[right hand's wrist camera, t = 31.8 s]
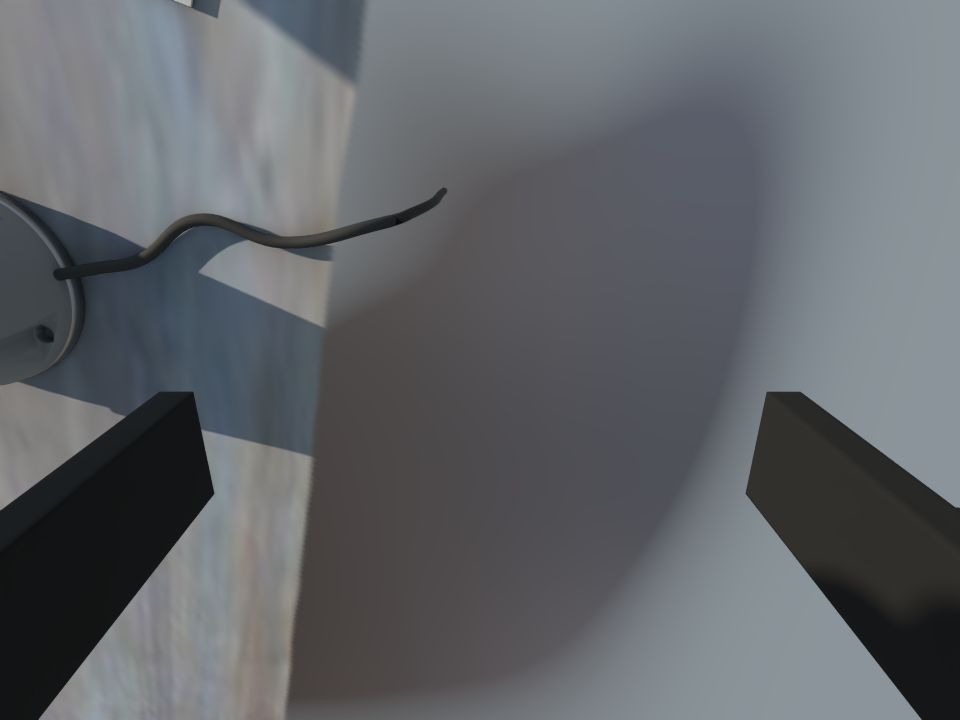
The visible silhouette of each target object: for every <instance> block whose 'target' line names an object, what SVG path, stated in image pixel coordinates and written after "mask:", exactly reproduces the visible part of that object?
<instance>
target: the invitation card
mask: <svg viewBox="0 0 960 720" xmlns="http://www.w3.org/2000/svg"><path fill="white" fill-rule="evenodd" d="M174 1H176V2H179V3H181V4H184V5H186V6H189V7H191V8H192V4H193V0H174Z"/></svg>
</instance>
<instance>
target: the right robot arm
mask: <svg viewBox="0 0 960 720" xmlns="http://www.w3.org/2000/svg"><path fill="white" fill-rule="evenodd" d="M446 193H447V189H446V188H444V187H443V188H442V189H440V190H439V191H438V192H437V193H436V194H435V195H434V196H433V197H432V198H431V199H429V200H427V201H425V202H423V203H421V204H419V205H416V206H414V207H411V208H409V209H407V210H404V211H402V212H399V213H396V214H392V215H388V216H384V217H380V218H376V219H372V220H368V221H364V222H360V223H356V224H353V225H350V226H346V227H343V228H339V229H336V230H332V231H328V232H324V233H319V234H314V235H307V236H297V237H279V236H271V235H267V234H264V233H261V232H258V231H256V230H253V229H251V228H249V227H247V226H245V225H242V224H240V223H238V222H236V221H233V220H231V219H228V218H226V217H223V216H219V215H214V214H194V215H189V216H186V217H183V218H181V219H179V220H177V221H176V222H174V223H173V224H172V225H170V226H169V227H168V228H167V229H166V230H165V231H164V232H163V233H162V234H161V235H160V237H159V238H158V239H157V240H156V241H155V242H154V243H153V244H152V245H151V246H149V247H148V248H147V249H146V250H144V251H142V252H141V253H139V254H137V255H134V256H132V257H129V258H125V259H119V260H111V261H102V262H95V263H89V264H83V265H77V266H74V265H73V263H72V261H71V259H70V257H69V255H68V254H67V252H66V250H65V249H64V247H63V246H62V244H61V243H60V242H59V240H58V239H57V238H56V236H55V235H54V234H53V233H52V232H51V231H50V229H49V228H48V227H47V226H46V225H45V224H44V223H43V222H42V221H41V220H40V219H39V218H37V217H36V216H35V215H34V214H33V213H32V212H30V211H29V210H28V209H26V208H25V207H24V206H22V205H21V204H19V203H18V202H16V201H15V200H13V199H11V198H9V197H8V196H6V195H4V194H2V193H0V385H5V384H10V383H14V382H18V381H21V380H24V379H27V378H30V377H33V376H35V375H37V374H39V373H41V372H43V371H45V370H47V369H49V368H51V367H53V366H54V365H56V364H57V363H59V362H60V361H61V360H63V359H64V358H65V357H66V356H67V355H68V354H69V352H70V351H71V350H72V348H73V347H74V346H75V344H76V342H77V340H78V338H79V335H80V332H81V329H82V325H83V319H84V299H83V292H82V287H81V284H80V280H79V277H85V276H90V275H96V274H102V273H110V272H119V271H125V270H130V269H134V268H137V267H140V266H142V265H145V264H147V263H149V262H150V261H152V260H154V259H155V258H156V257H157V256H159V255H160V254H161V253H162V252H163V251H164V250H165V249H166V248H167V247H168V246H169V245H170V244H171V243H172V242H173V241H174V240H175V239H176V238H177V237H178V236H179V235H180V234H181V233H183V232H184V231H186V230H188V229H190V228H193V227H197V226H215V227H220V228H223V229H226V230H228V231H231V232H233V233H235V234H237V235H239V236H242V237H244V238H246V239H248V240H251V241H253V242H256V243H258V244H262V245H265V246H269V247H275V248H307V247H315V246H321V245H326V244H330V243H334V242H338V241H342V240H345V239H349V238H352V237H356V236H359V235H363V234H366V233H370V232H374V231H378V230H382V229H386V228H389V227H393V226H397V225H400V224H402V223H405V222H407V221H409V220H411V219H413V218H415V217H417V216H419V215H421V214H423V213H425V212H427V211H429V210H430V209H432V208H434V207H435V206H436V205H438V204H439V203H440V201H441V200H442V198H443V197H444V195H445V194H446ZM213 495H214V490H213V485H212V480H211V475H210V470H209V466H208V461H207V456H206V451H205V446H204V441H203V437H202V432H201V427H200V422H199V417H198V413H197V408H196V403H195V398H194V393H193V392H159V393H157V394H156V395H155V396H153V397H152V398H151V399H149V400H148V401H147V402H145V403H144V404H143V405H141V406H140V407H139V408H137V409H136V410H135V411H133V412H132V413H131V414H129V415H128V416H127V417H125V418H124V419H123V420H121V421H120V422H119V423H117V424H116V425H115V426H113V427H112V428H111V429H109V430H108V431H106V432H105V433H104V434H102V435H101V436H100V437H98V438H97V439H96V440H94V441H93V442H92V443H90V444H89V445H88V446H86V447H85V448H84V449H82V450H81V451H80V452H78V453H77V454H76V455H74V456H73V457H72V458H70V459H69V460H68V461H66V462H65V463H64V464H62V465H61V466H60V467H58V468H57V469H56V470H54V471H53V472H52V473H50V474H49V475H48V476H46V477H45V478H43V479H42V480H41V481H39V482H38V483H37V484H35V485H34V486H33V487H31V488H30V489H29V490H27V491H26V492H25V493H23V494H22V495H21V496H19V497H18V498H17V499H15V500H14V501H13V502H11V503H10V504H9V505H7V506H6V507H5V508H3V509H2V510H0V720H38V719H39V718H40V717H41V715H42V714H43V713H44V712H45V710H46V709H47V708H48V706H49V705H50V704H51V703H52V701H53V700H54V699H55V697H56V696H57V695H58V694H59V692H60V691H61V690H62V689H63V687H64V686H65V685H66V683H67V682H68V681H69V680H70V678H71V677H72V676H73V674H74V673H75V672H76V671H77V669H78V668H79V667H80V665H81V664H82V663H83V662H84V660H85V659H86V658H87V656H88V655H89V654H90V653H91V651H92V650H93V649H94V647H95V646H96V645H97V644H98V642H99V641H100V640H101V638H102V637H103V636H104V635H105V633H106V632H107V631H108V629H109V628H110V627H111V626H112V624H113V623H114V622H115V621H116V619H117V618H118V617H119V615H120V614H121V613H122V612H123V610H124V609H125V608H126V606H127V605H128V604H129V603H130V601H131V600H132V599H133V597H134V596H135V595H136V594H137V592H138V591H139V590H140V588H141V587H142V586H143V585H144V583H145V582H146V581H147V579H148V578H149V577H150V576H151V574H152V573H153V572H154V570H155V569H156V568H157V567H158V565H159V564H160V563H161V561H162V560H163V559H164V558H165V556H166V555H167V554H168V552H169V551H170V550H171V549H172V547H173V546H174V545H175V544H176V542H177V541H178V540H179V538H180V537H181V536H182V535H183V533H184V532H185V531H186V529H187V528H188V527H189V526H190V524H191V523H192V522H193V520H194V519H195V518H196V517H197V515H198V514H199V513H200V511H201V510H202V509H203V508H204V506H205V505H206V504H207V502H208V501H209V500H210V499H211V497H212V496H213ZM746 495H747V496H748V497H749V499H750V500H751V501H752V502H753V504H754V505H755V506H756V508H757V509H758V510H759V511H760V513H761V514H762V515H763V517H764V518H765V519H766V520H767V522H768V523H769V524H770V526H771V527H772V528H773V529H774V531H775V532H776V533H777V534H778V536H779V537H780V538H781V540H782V541H783V542H784V544H785V545H786V546H787V547H788V549H789V550H790V551H791V552H792V554H793V555H794V556H795V558H796V559H797V560H798V561H799V563H800V564H801V565H802V567H803V568H804V569H805V570H806V572H807V573H808V574H809V576H810V577H811V578H812V579H813V581H814V582H815V583H816V585H817V586H818V587H819V588H820V590H821V591H822V592H823V594H824V595H825V596H826V597H827V599H828V600H829V601H830V603H831V604H832V605H833V606H834V608H835V609H836V610H837V612H838V613H839V614H840V615H841V617H842V618H843V619H844V621H845V622H846V623H847V624H848V626H849V627H850V628H851V629H852V631H853V632H854V633H855V635H856V636H857V637H858V638H859V640H860V641H861V642H862V644H863V645H864V646H865V647H866V649H867V650H868V651H869V653H870V654H871V655H872V656H873V658H874V659H875V660H876V662H877V663H878V664H879V665H880V667H881V668H882V669H883V671H884V672H885V673H886V674H887V676H888V677H889V678H890V679H891V681H892V682H893V683H894V685H895V686H896V687H897V689H898V690H899V691H900V692H901V694H902V695H903V696H904V697H905V699H906V700H907V701H908V703H909V704H910V705H911V706H912V708H913V709H914V710H915V712H916V713H917V714H918V715H919V717H920V718H921V719H922V720H960V508H955V507H954V506H953V505H951V504H950V503H949V502H947V501H946V500H945V499H943V498H942V497H941V496H939V495H938V494H937V493H935V492H934V491H933V490H931V489H930V488H929V487H927V486H926V485H925V484H923V483H922V482H921V481H919V480H918V479H917V478H915V477H914V476H912V475H911V474H910V473H908V472H907V471H906V470H904V469H903V468H902V467H900V466H899V465H898V464H896V463H895V462H894V461H892V460H891V459H890V458H888V457H887V456H886V455H884V454H883V453H882V452H880V451H879V450H878V449H876V448H875V447H874V446H872V445H871V444H870V443H868V442H867V441H866V440H864V439H863V438H861V437H860V436H859V435H858V434H856V433H855V432H854V431H852V430H851V429H849V428H848V427H847V426H845V425H844V424H843V423H841V422H840V421H839V420H837V419H836V418H835V417H833V416H832V415H831V414H829V413H828V412H827V411H825V410H824V409H823V408H821V407H820V406H819V405H817V404H816V403H815V402H813V401H812V400H811V399H809V398H808V397H807V396H805V395H804V394H802V393H801V392H767V394H766V398H765V403H764V408H763V413H762V417H761V422H760V427H759V432H758V437H757V441H756V446H755V451H754V456H753V461H752V466H751V470H750V475H749V480H748V485H747V490H746Z"/></svg>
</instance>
